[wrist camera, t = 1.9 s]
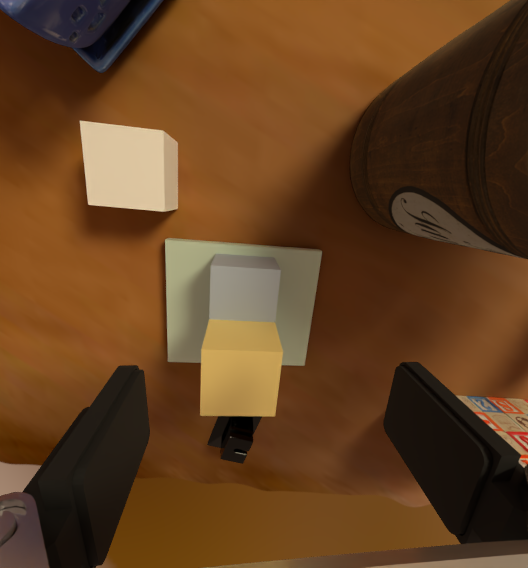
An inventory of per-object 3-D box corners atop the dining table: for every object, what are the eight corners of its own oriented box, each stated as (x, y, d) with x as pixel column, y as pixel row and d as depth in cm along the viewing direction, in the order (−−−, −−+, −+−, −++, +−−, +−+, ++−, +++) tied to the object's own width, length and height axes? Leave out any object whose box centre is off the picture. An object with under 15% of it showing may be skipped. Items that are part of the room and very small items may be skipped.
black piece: (245, 457, 39) (246, 491, 35) (196, 447, 38) (190, 481, 33) (278, 390, 36) (283, 418, 31) (225, 376, 34) (222, 403, 30)
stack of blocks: (541, 398, 39) (667, 484, 28) (523, 432, 41) (634, 525, 29) (404, 391, 37) (480, 481, 25) (392, 427, 39) (457, 527, 27)
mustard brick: (209, 319, 24) (201, 349, 20) (275, 322, 25) (283, 352, 20) (207, 375, 26) (200, 415, 21) (268, 377, 27) (275, 416, 22)
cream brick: (110, 134, 25) (79, 120, 20) (178, 142, 25) (163, 130, 21) (115, 203, 27) (88, 204, 22) (178, 208, 27) (164, 211, 22)
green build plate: (168, 238, 28) (165, 239, 27) (319, 249, 29) (322, 251, 28) (170, 355, 32) (167, 361, 31) (302, 360, 34) (304, 365, 33)
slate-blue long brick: (215, 253, 27) (210, 265, 23) (274, 257, 28) (280, 270, 23) (212, 355, 31) (207, 384, 26) (264, 357, 32) (268, 385, 27)
